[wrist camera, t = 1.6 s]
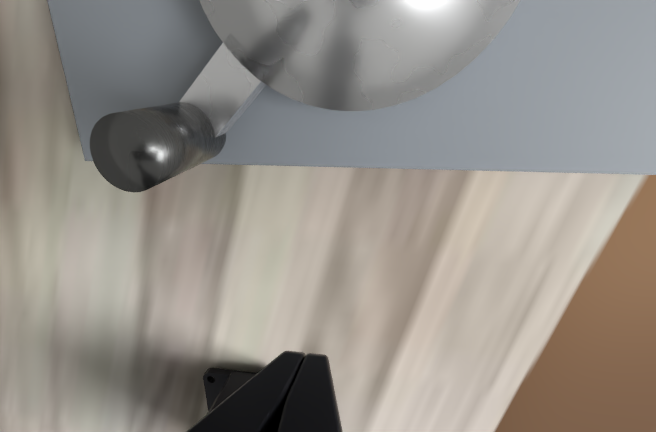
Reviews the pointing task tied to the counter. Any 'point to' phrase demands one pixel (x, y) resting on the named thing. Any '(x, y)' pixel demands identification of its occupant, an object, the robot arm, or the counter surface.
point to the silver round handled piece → (296, 72)
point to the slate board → (406, 118)
